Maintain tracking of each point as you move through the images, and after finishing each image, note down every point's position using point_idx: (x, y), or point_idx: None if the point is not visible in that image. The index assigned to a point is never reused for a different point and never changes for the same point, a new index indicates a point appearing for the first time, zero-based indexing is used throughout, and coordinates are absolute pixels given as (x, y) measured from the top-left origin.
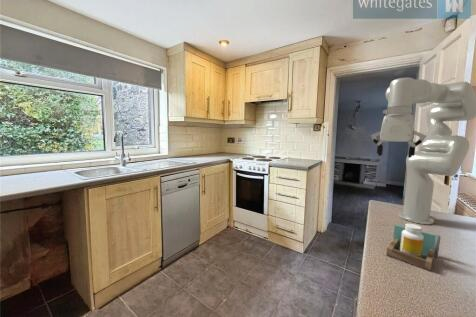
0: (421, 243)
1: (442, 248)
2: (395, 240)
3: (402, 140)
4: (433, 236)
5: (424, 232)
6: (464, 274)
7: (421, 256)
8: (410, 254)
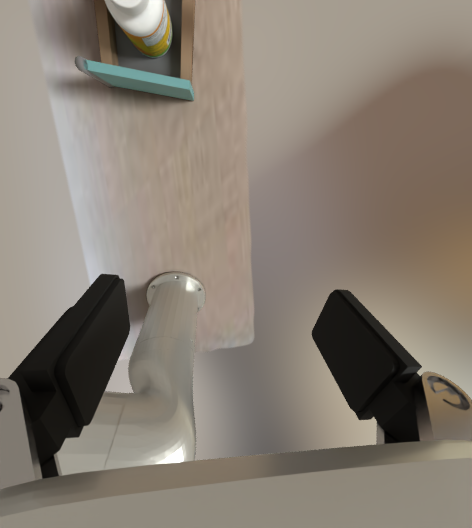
0: None
1: (109, 155)
2: (185, 63)
3: (99, 519)
4: (92, 62)
5: (114, 70)
6: (41, 5)
7: (129, 42)
8: None
